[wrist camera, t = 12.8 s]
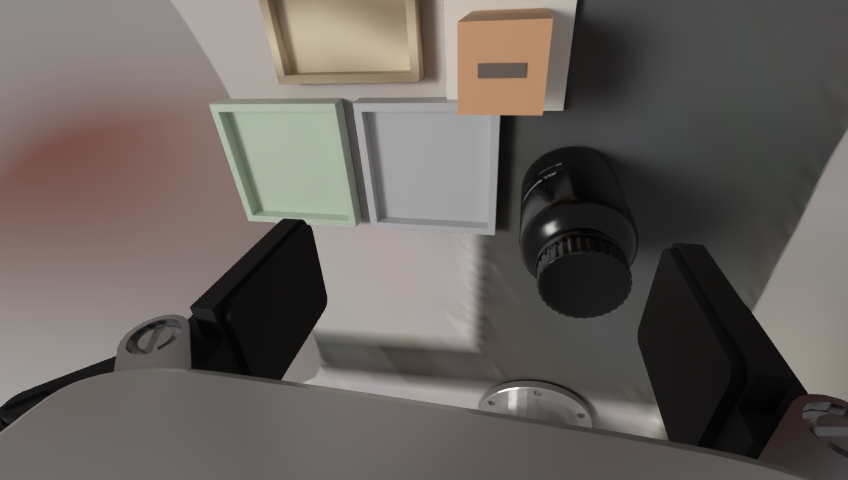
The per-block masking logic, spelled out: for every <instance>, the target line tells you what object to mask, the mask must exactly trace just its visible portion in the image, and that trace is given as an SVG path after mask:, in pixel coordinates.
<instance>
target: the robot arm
mask: <svg viewBox="0 0 848 480" xmlns="http://www.w3.org/2000/svg"><path fill="white" fill-rule="evenodd" d="M326 305H327V294H326V289H325V285H324V280H323V276H322V271H321V267H320V262H319V258H318V253H317V249H316V244H315V240H314V235H313V231H312V228H311V226H310V225H307V223H306V222H305V221H304V220H303V219H288V218H284V219H282V220H281V221H280V222H279V223H278V224H276V225H275V226H274V227H273V228H272V229H271V230H270V231H269V232H268V233H267V234H266V235H265V236H264V237H263V238H262V239H261V240H260V241H259V242H258V243H257V244H256V245H254V246H253V247H252V248H251V249H250V250H249V251H248V252H247V253H246V254H245V255H244V256H243V257H242V258H241V259H240V260H239V261H238V262H237V263H236V264H235V265H233V266H232V268H231V269H229V270H228V271H227V272H226V273H225V274H224V275H223V276H222V277H221V278H220V279H219V280H218V281H217V282H216V283H215V284H214V285H213V286H211V288H209V289H208V290H207V291H206V292H205V293H204V294H203V295H202V296H201V297H200V298H199V299H198V300H197V301H196V302H195V303H194V304H193V305H192V306H191V307H190V309H191V311H192V313H193V315H192V316H191V317H190V318H189V319H186V318H185V317H183V316H180V315H164V316H159V317H155V318H153V319H150V320H148V321H145V322H143V323H142V324H140V325H138V326H136V327H135V328H133V329H132V330H131V331H130V332H128V333H127V334H126V335H125V336H124V338H123V339H122V340H121V341H120V344H119V346H118V349H117V355H116V356H115V357H112V358H110V359H107V360H104V361H102V362H99V363H96V364H94V365H91V366H89V367H86V368H84V369H81V370H78V371H75V372H73V373H70V374H68V375H65V376H62V377H60V378H57V379H54V380H52V381H49V382H47V383H44V384H41V385H39V386H36V387H33V388H31V389H29V390H26V391H23V392H21V393H19V394H17V395H16V396H14V397H12V398H11V399H10V400H8V401H7V402H6V403H5V404H4V405H3V406H1V407H0V480H848V402H846V401H844V400H841V399H838V398H834V397H830V396H827V395H819V394H808V393H807V391H806V390H805V389H804V387H803V386H802V384H801V383H800V381H799V380H798V378H797V377H796V376H795V374H794V373H793V371H792V370H791V369H790V367H789V366H788V364H787V363H786V361H785V360H784V358H783V357H782V356H781V354H780V353H779V351H778V350H777V348H776V347H775V346H774V344H773V343H772V341H771V340H770V338H769V337H768V335H767V334H766V333H765V331H764V330H763V328H762V327H761V326H760V324H759V322H758V321H757V320H756V318H755V317H754V315H753V314H752V312H751V311H750V310H749V308H748V307H747V306H746V305H745V304H744V303H743V301H742V300H741V299H740V297H739V296H738V294H737V293H736V291H735V290H734V288H733V287H732V286H731V284H730V283H729V281H728V280H727V278H726V277H725V275H724V274H723V273H722V271H721V270H720V268H719V267H718V265H717V264H716V262H715V261H714V260H713V258H712V257H711V255H710V254H709V252H708V251H707V249H706V248H705V247H704V246H703V245H699V244H683V243H675V244H673V245H672V247H671V249H669V248H665V249H664V250H663V252H662V254H661V258H660V261H659V264H658V267H657V271H656V274H655V277H654V280H653V283H652V287H651V290H650V293H649V296H648V300H647V303H646V306H645V309H644V312H643V316H642V319H641V322H640V325H639V329H638V344H639V347H640V350H641V353H642V357H643V360H644V363H645V366H646V369H647V372H648V375H649V379H650V382H651V385H652V388H653V391H654V394H655V397H656V401H657V404H658V407H659V410H660V413H661V416H662V419H663V423H664V426H665V429H666V432H667V435H668V438H669V441H666V440H660V439H654V438H648V437H642V436H637V435H631V434H625V433H619V432H614V431H608V430H602V429H595V428H592V427H593V424H592V418H591V414H590V411H589V409H588V407H587V406H586V405H585V403H584V402H583V401H582V400H581V399H580V398H579V397H577V396H576V395H574V394H573V393H571V392H570V391H568V390H566V389H563V388H561V387H559V386H556V385H552V384H549V383H545V382H538V381H514V382H509V383H505V384H502V385H499V386H497V387H494V388H493V389H491V390H490V391H488V392H487V393H486V394H485V395H484V396H483V397H482V399H481V401H480V402H479V407H478V410H475V409H468V408H462V407H455V406H449V405H442V404H436V403H429V402H423V401H416V400H410V399H403V398H397V397H390V396H383V395H377V394H370V393H364V392H357V391H350V390H343V389H337V388H330V387H323V386H316V385H309V384H303V383H296V382H289V381H282V380H281V379H282V378H283V376H284V374H285V373H286V371H287V369H288V368H289V366H290V365H291V363H292V361H293V360H294V358H295V357H296V355H297V353H298V352H299V350H300V349H301V347H302V345H303V344H304V342H305V341H306V339H307V337H308V336H309V334H310V332H311V331H312V329H313V328H314V326H315V324H316V323H317V321H318V320H319V318H320V316H321V315H322V313H323V312H324V310H325V308H326Z"/></svg>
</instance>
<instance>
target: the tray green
mask: <svg viewBox="0 0 848 480" xmlns="http://www.w3.org/2000/svg"><path fill="white" fill-rule="evenodd" d="M209 106H210V109H211V112H212V115H213V117H214V121H215V123H216V126H217V129H218V132H219V135H220V138H221V141H222V144H223V147H224V150H225V153H226V156H227V159H228V162H229V164H230V168H231V170H232V173H233V176H234V179H235V182H236V185H237V188H238V191H239V194H240V197H241V200H242V203H243V206H244V209H245V211H246V215H247V218H248V220H249V221H262V222H280V221H281V220H282V219H284V218H288V219H303V220H304V221H305V222H306V223H307V224H313V225H330V226H347V227H357V225H358V224H359V222H360V220H361V219H362V217H361V211H360V205H359V199H358V192H357V186H356V180H355V174H354V168H353V162H352V156H351V150H350V144H349V138H348V131H347V125H346V119H345V113H344V107H343V101H342V98H328V99H223V100H218V101H216V102H214V103H211V104H209Z"/></svg>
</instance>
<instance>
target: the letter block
mask: <svg viewBox="0 0 848 480" xmlns="http://www.w3.org/2000/svg"><path fill="white" fill-rule="evenodd" d="M552 25H553V17H552V16H551V14H550V12H549V11H548V9H547V8H526V9H503V10H480V11H471V12H470V13H469V14H467V15H466V16H465V17H463V18H462V19H461V20H459V21H458V22H457V59H458V115H543V108H544V99H545V90H546V80H547V71H548V62H549V53H550V43H551V34H552Z"/></svg>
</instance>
